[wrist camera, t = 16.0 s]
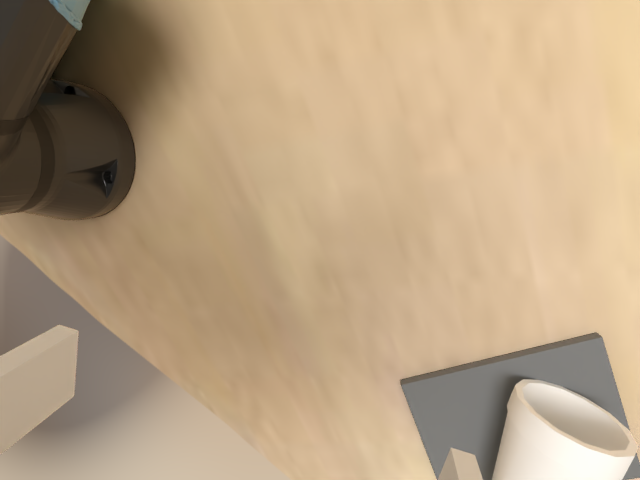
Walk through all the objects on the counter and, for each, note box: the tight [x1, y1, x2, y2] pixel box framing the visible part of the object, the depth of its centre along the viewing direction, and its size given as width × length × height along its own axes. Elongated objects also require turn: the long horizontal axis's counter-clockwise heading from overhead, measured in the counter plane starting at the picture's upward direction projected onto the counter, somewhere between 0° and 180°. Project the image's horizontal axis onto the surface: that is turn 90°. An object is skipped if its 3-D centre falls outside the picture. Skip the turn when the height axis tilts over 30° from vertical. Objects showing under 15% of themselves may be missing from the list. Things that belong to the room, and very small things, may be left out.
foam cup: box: [492, 379, 639, 480], centre depth 34 cm, size 10×9×13 cm
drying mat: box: [401, 333, 640, 480], centre depth 39 cm, size 20×16×1 cm
